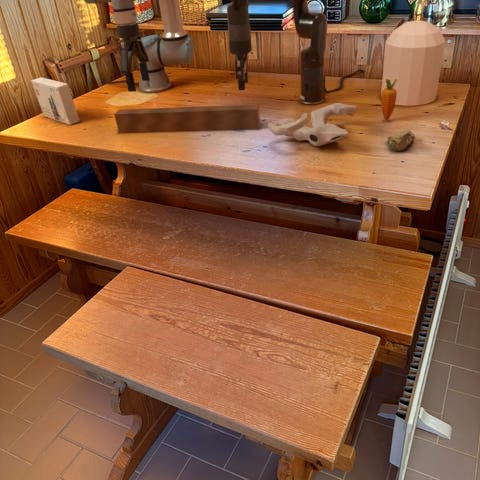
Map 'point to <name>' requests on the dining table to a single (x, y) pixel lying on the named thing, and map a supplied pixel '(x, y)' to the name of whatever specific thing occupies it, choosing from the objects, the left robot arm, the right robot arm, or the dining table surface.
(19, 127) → the dining table surface
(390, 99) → the carrot
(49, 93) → the skincare box
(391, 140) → the rock
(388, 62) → the container
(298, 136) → the animal horns
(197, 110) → the beam
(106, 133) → the dining table surface
